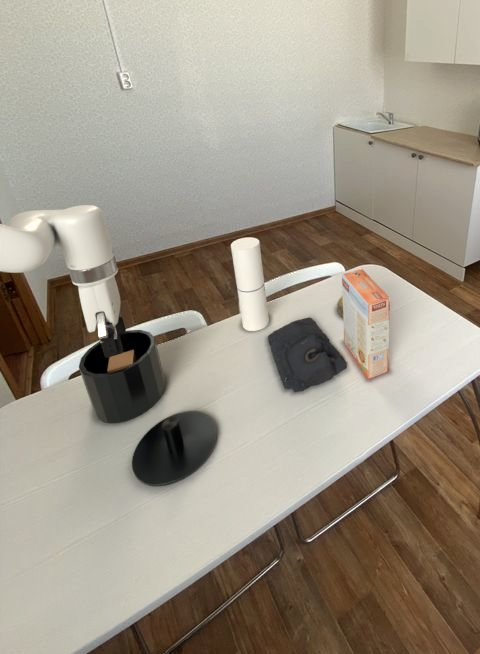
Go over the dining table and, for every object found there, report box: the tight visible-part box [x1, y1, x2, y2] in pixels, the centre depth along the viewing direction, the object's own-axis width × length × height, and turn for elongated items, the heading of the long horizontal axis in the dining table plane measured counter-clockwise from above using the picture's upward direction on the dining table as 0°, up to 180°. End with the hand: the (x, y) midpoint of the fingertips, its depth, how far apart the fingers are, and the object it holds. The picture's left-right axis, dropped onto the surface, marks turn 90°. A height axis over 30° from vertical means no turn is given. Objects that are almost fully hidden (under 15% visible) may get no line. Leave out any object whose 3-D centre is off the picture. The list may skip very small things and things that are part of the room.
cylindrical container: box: [230, 236, 270, 332], centre depth 103 cm, size 7×7×25 cm
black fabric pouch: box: [267, 316, 347, 393], centre depth 95 cm, size 15×22×5 cm
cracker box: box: [341, 268, 391, 380], centre depth 91 cm, size 14×6×21 cm, turn 25°
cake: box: [336, 295, 343, 318], centre depth 112 cm, size 10×10×5 cm
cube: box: [107, 350, 137, 373], centre depth 82 cm, size 5×5×5 cm
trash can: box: [78, 329, 166, 424], centre depth 82 cm, size 14×14×12 cm
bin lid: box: [131, 410, 217, 488], centre depth 72 cm, size 15×15×7 cm
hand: (116, 343), depth 80 cm, fingers open, 6 cm apart
